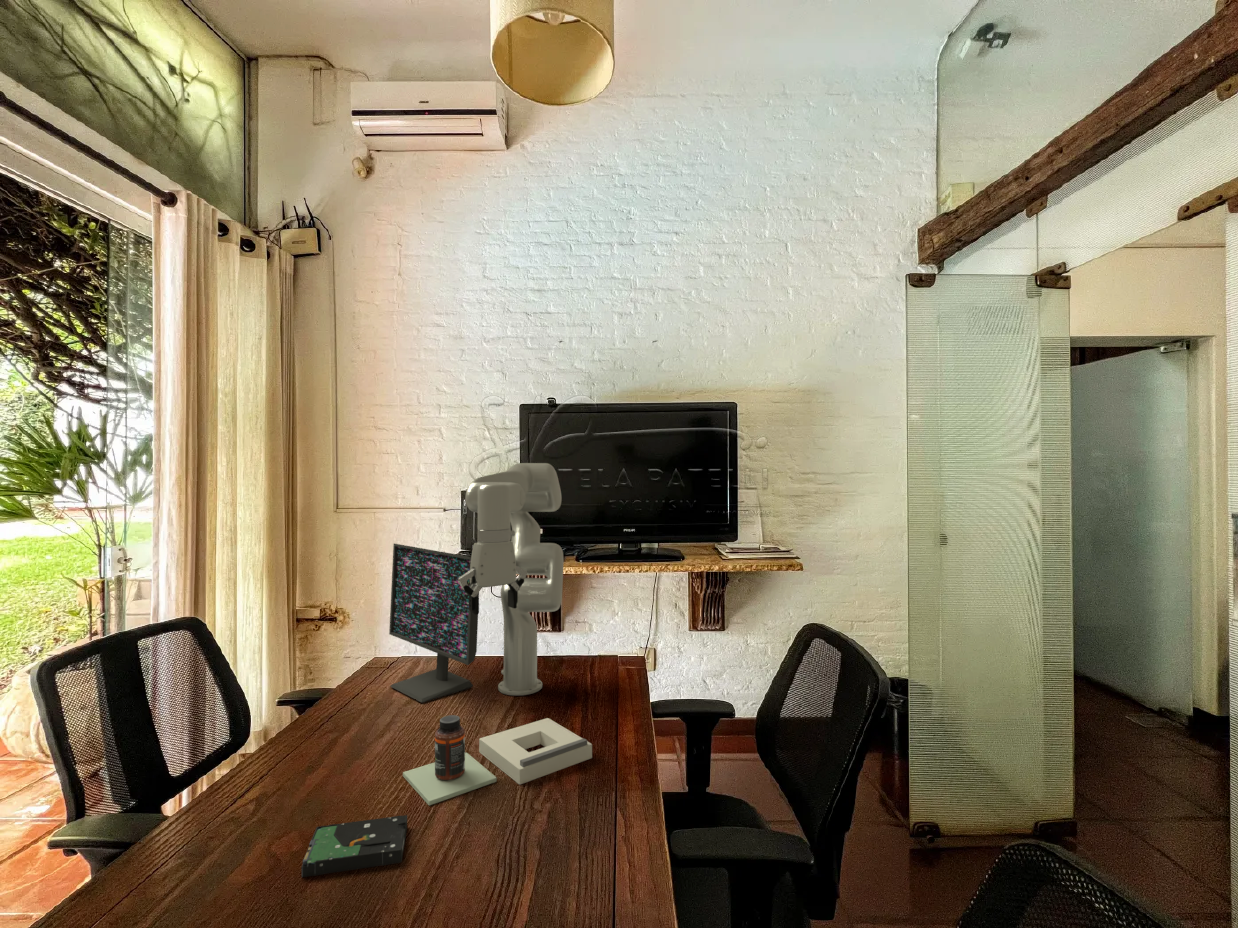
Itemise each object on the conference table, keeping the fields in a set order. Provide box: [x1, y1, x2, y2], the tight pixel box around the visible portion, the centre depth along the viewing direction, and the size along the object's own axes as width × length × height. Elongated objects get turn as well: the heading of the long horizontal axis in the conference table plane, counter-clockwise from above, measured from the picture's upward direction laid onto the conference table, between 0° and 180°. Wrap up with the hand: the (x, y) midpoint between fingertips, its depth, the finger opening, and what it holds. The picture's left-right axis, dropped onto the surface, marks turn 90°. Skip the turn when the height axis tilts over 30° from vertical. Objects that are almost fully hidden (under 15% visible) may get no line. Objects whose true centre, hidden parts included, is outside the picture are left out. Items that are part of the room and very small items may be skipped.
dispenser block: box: [478, 717, 593, 785], centre depth 134 cm, size 18×18×4 cm
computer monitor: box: [388, 543, 480, 704], centre depth 175 cm, size 44×16×40 cm, turn 47°
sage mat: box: [402, 751, 498, 806], centre depth 123 cm, size 14×14×1 cm
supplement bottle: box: [434, 714, 466, 780], centre depth 124 cm, size 6×6×11 cm
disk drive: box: [301, 814, 408, 878], centre depth 100 cm, size 10×3×15 cm
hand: (493, 610), depth 141 cm, fingers open, 9 cm apart
